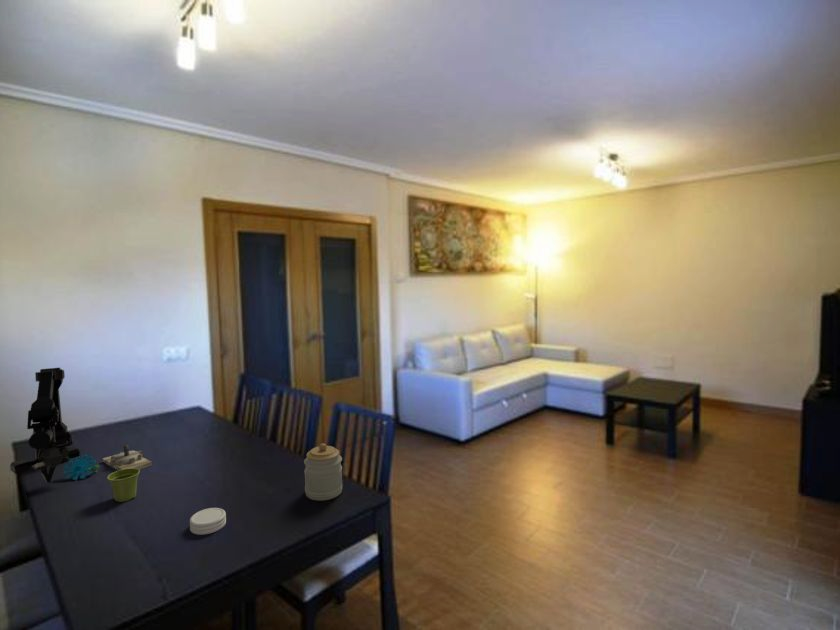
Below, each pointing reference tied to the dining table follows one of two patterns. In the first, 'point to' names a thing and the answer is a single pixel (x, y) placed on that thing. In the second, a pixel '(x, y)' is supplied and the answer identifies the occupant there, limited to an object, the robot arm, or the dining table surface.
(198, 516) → the white round flat block
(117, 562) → the dining table surface
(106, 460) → the gear board
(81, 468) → the gear
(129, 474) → the plant pot
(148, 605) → the dining table surface
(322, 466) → the jar
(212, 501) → the dining table surface
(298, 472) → the dining table surface
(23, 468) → the robot arm
